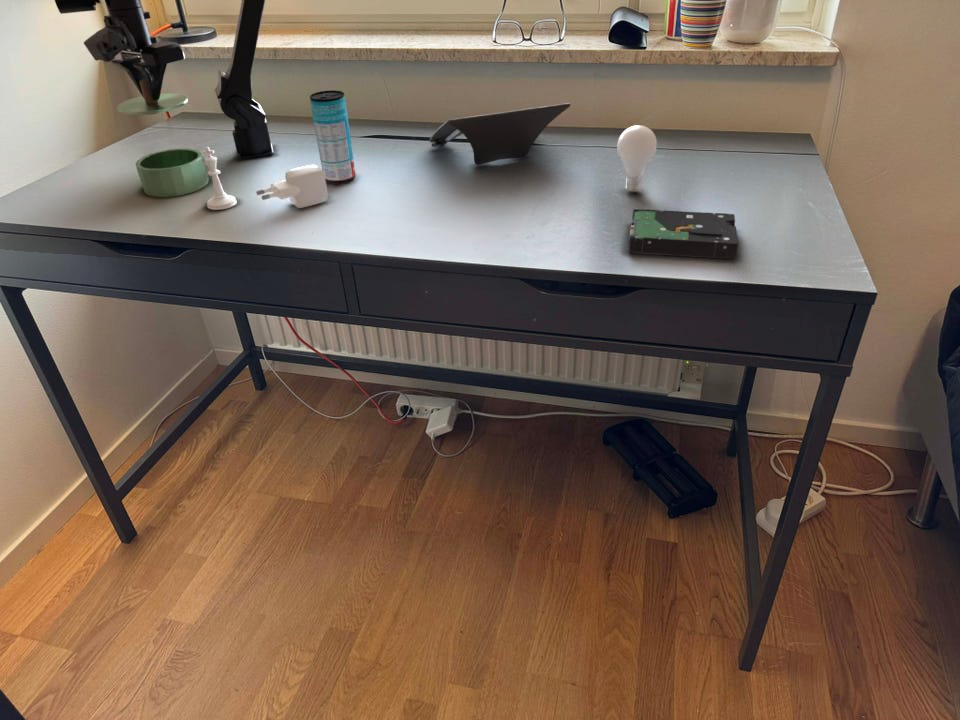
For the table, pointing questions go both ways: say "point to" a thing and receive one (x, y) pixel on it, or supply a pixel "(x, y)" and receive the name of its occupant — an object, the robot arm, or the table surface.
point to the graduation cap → (499, 132)
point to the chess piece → (217, 185)
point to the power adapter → (300, 187)
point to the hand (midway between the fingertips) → (151, 99)
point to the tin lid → (151, 103)
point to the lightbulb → (636, 154)
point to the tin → (172, 172)
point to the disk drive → (683, 233)
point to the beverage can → (333, 136)
